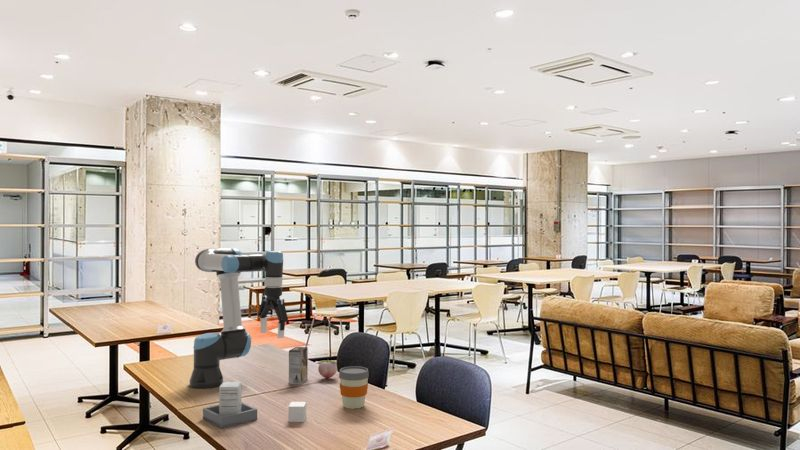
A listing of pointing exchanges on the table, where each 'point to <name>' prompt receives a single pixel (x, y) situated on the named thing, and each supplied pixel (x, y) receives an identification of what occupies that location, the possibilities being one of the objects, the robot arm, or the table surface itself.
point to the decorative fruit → (327, 368)
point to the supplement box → (229, 398)
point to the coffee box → (298, 365)
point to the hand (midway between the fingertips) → (272, 335)
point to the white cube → (297, 412)
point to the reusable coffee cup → (353, 386)
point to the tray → (229, 416)
